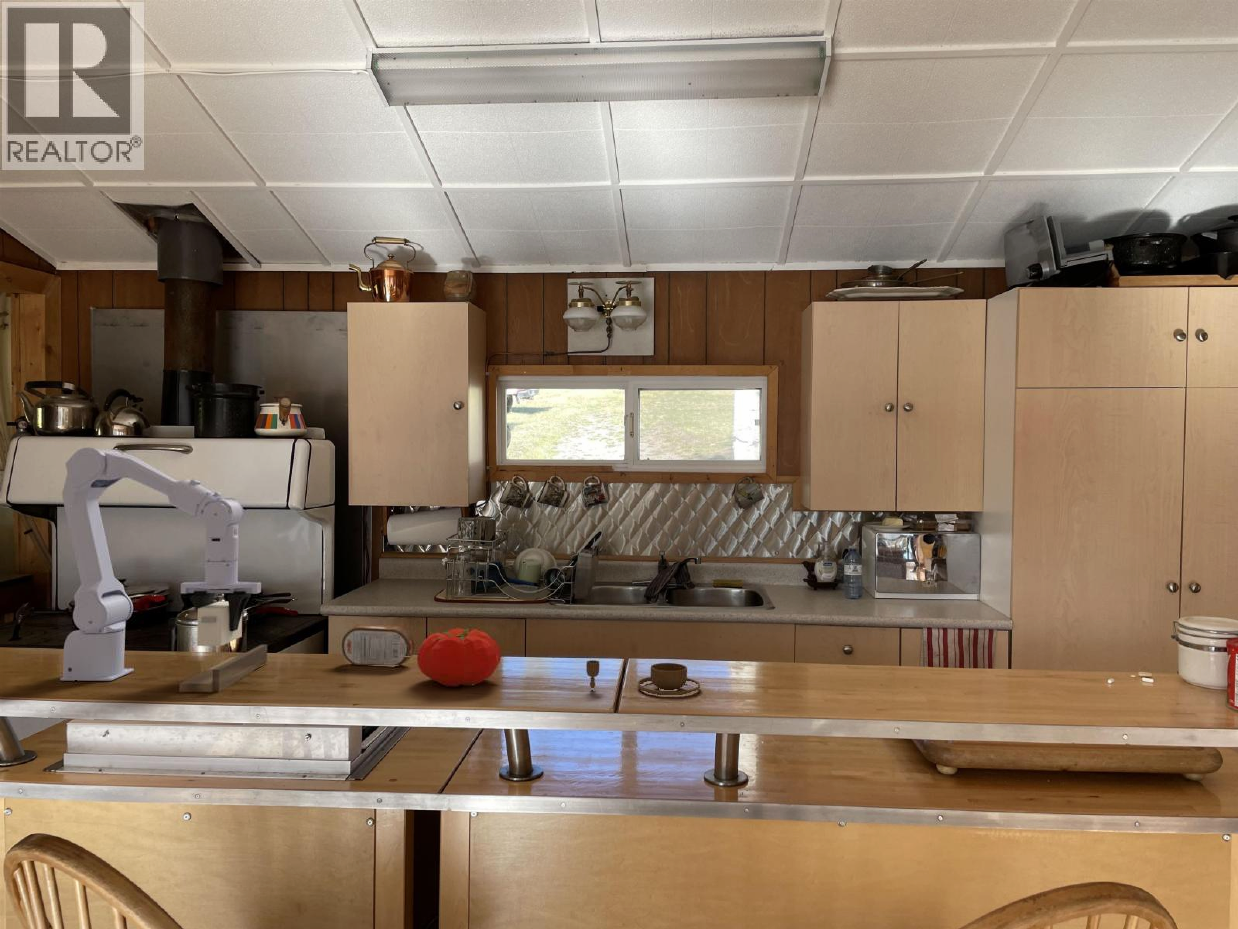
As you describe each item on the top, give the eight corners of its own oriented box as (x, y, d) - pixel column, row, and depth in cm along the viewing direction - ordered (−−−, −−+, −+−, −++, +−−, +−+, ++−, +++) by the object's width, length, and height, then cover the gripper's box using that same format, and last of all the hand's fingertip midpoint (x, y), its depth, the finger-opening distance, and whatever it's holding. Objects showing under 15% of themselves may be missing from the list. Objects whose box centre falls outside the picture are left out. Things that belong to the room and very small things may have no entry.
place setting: (682, 708, 140) (683, 675, 140) (581, 694, 148) (581, 663, 148) (711, 686, 156) (712, 655, 156) (618, 674, 164) (619, 646, 164)
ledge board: (179, 691, 144) (179, 669, 144) (232, 663, 166) (232, 644, 166) (218, 692, 144) (219, 669, 144) (266, 664, 166) (267, 644, 166)
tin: (414, 665, 167) (415, 625, 167) (409, 669, 164) (409, 628, 164) (345, 663, 169) (346, 623, 169) (339, 666, 165) (340, 625, 166)
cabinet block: (195, 646, 150) (195, 609, 150) (218, 636, 159) (219, 601, 159) (219, 646, 150) (220, 609, 150) (241, 636, 160) (242, 601, 160)
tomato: (441, 671, 163) (442, 622, 163) (513, 678, 157) (514, 628, 157) (400, 688, 149) (401, 635, 149) (477, 697, 144) (478, 642, 144)
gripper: (173, 562, 151) (171, 634, 151) (251, 562, 152) (249, 634, 151) (191, 558, 158) (189, 627, 158) (265, 559, 159) (264, 627, 158)
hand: (220, 630), depth 155 cm, fingers closed on cabinet block, 4 cm apart
